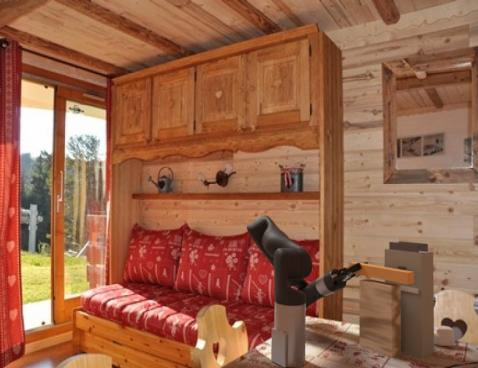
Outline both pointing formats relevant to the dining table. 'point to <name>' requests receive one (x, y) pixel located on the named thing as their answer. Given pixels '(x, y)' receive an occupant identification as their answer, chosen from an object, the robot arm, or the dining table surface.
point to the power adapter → (443, 336)
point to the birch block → (380, 316)
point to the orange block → (385, 273)
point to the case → (415, 296)
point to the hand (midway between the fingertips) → (364, 265)
